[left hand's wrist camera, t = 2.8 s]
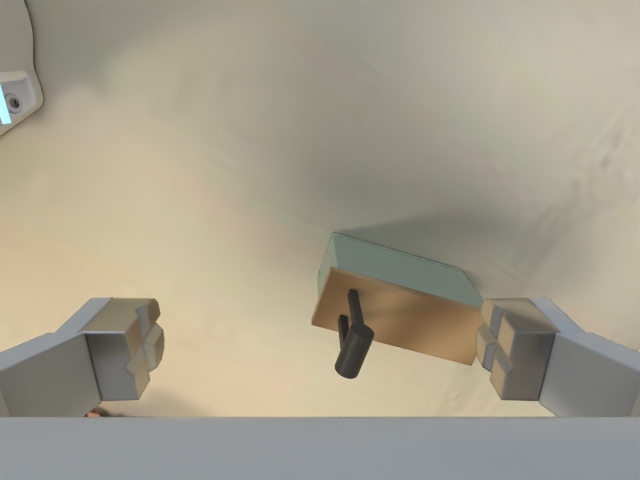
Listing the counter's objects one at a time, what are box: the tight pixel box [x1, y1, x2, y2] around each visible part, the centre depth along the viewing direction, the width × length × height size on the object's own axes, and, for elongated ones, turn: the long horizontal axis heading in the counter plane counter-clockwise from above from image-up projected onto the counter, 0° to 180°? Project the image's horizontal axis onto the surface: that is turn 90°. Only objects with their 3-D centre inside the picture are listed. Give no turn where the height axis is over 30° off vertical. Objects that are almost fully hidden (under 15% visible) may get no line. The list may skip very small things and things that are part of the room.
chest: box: [318, 232, 484, 308], centre depth 41 cm, size 15×5×9 cm, turn 73°
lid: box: [312, 266, 484, 379], centre depth 33 cm, size 15×5×8 cm, turn 73°
